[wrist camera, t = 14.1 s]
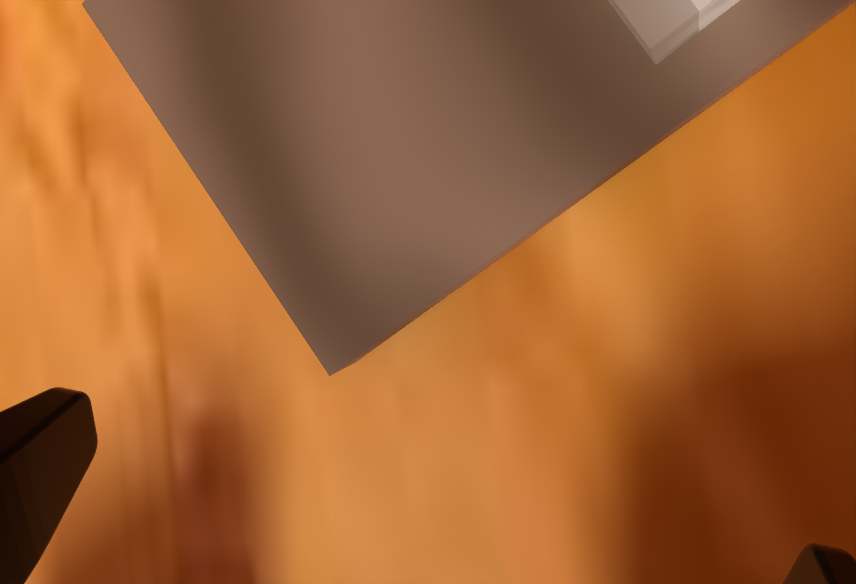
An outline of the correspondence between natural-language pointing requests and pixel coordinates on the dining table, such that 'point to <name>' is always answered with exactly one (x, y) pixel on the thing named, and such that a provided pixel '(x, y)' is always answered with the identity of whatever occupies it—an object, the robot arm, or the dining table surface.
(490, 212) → the caddy board
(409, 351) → the dining table surface
